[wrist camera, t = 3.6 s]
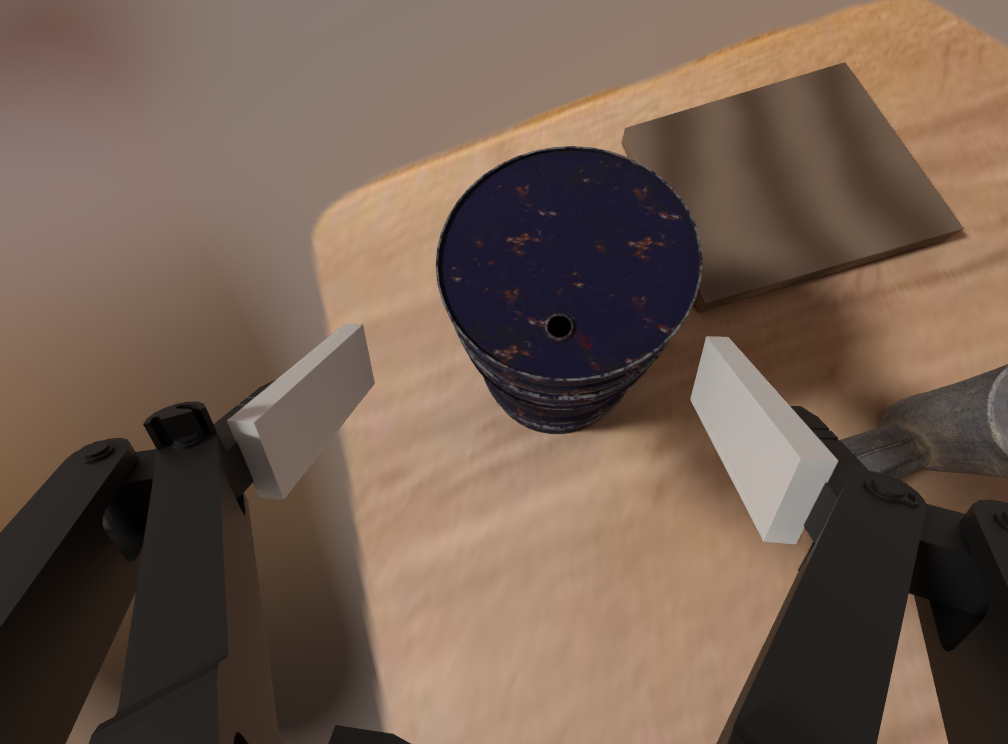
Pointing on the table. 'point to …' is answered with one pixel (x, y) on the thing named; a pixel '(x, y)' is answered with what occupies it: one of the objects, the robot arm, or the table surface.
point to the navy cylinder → (567, 280)
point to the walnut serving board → (791, 184)
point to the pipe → (942, 431)
